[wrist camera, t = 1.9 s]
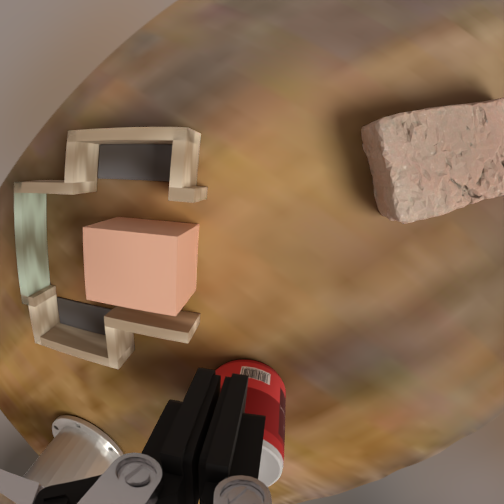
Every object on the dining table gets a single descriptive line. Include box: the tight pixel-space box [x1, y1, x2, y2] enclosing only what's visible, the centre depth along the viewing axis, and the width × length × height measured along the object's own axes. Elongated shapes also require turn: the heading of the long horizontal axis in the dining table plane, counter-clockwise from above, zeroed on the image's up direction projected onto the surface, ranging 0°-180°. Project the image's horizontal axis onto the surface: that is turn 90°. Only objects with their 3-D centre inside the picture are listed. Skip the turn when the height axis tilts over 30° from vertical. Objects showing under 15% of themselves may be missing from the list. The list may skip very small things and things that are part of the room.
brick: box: [361, 98, 504, 224], centre depth 22 cm, size 17×8×5 cm, turn 107°
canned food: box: [215, 360, 286, 487], centre depth 26 cm, size 8×8×11 cm
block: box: [83, 217, 199, 316], centre depth 26 cm, size 6×8×6 cm
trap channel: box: [14, 127, 208, 369], centre depth 27 cm, size 22×19×4 cm
